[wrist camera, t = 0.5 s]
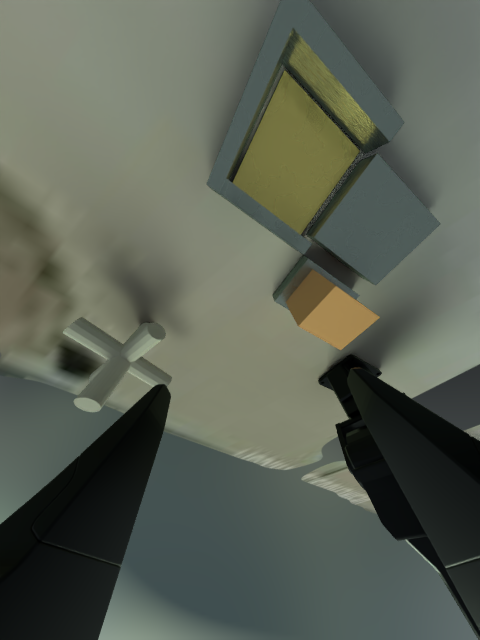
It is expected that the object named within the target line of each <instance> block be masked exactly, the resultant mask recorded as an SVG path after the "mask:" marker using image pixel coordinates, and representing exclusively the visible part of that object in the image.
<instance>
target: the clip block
mask: <svg viewBox="0 0 480 640" xmlns="http://www.w3.org/2000/svg"><path fill="white" fill-rule="evenodd" d="M286 304H287V306H288V308H289V310H290V312H291V313H292V315H293V317H294V319H295V321H296V323H297V325H298V326H299V327H301V328H302V329H304V330H306V331H308V332H309V333H311V334H313V335H315V336H316V337H318V338H320V339H322V340H324V341H325V342H327V343H329V344H331V345H332V346H334V347H336V348H338V349H339V350H342V349H343V348H344V347H345V346H346V345H348V344H349V343H350V342H351V341H352V340H354V339H355V338H356V337H357V336H358V335H360V334H361V333H362V332H363V331H364V330H366V329H367V328H368V327H369V326H370V325H371V324H373V323H374V322H375V321H376V320H377V319H379V318H380V317H379V316H378V315H376V314H375V313H373V312H372V311H371V310H369V309H368V308H367V307H365V306H364V305H362V304H361V303H360V302H358V301H357V300H356V299H354V298H353V297H351V296H350V295H349V294H347V293H346V292H344V291H343V290H342V289H340V288H339V287H337V286H336V285H335V284H333V283H332V282H330V281H329V280H327V279H326V278H325V277H323V276H322V275H320V274H319V273H318V272H316V271H315V270H313V269H312V271H311V272H310V273H309V274H308V275H307V277H306V278H305V279H304V280H303V282H302V283H301V284H300V285H299V286H298V288H297V289H296V290H295V291H294V292H293V294H292V295H291V296H290V297H289V299H288V300H287V301H286Z"/></svg>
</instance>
